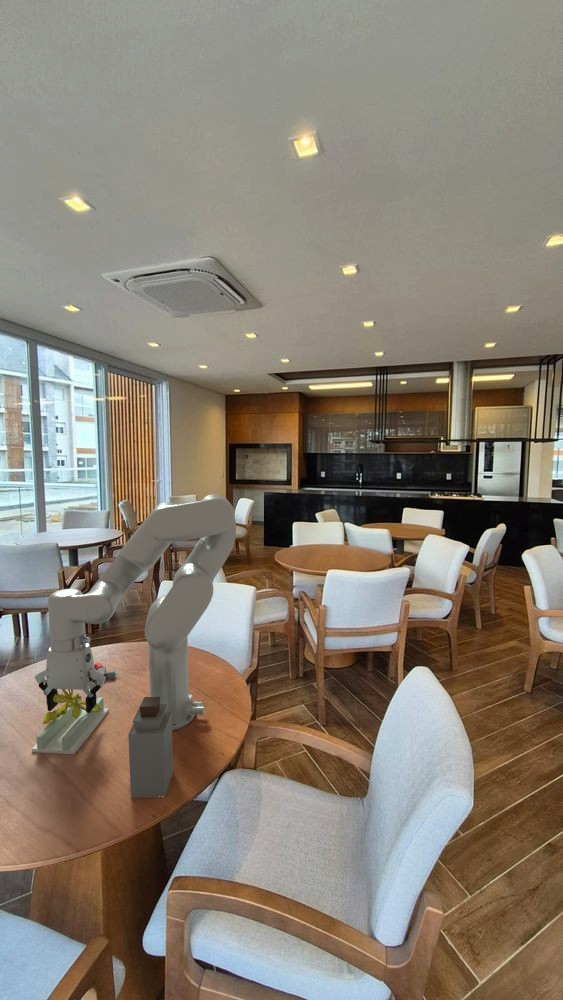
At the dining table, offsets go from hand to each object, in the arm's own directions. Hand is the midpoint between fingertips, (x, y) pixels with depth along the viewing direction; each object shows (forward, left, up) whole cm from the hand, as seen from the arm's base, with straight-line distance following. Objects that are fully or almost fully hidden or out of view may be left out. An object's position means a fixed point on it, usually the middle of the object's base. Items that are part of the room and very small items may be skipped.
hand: (72, 708), depth 102 cm
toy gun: (+7, -26, -6) cm, 27 cm away
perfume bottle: (-26, +15, -6) cm, 31 cm away
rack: (0, 0, -6) cm, 6 cm away
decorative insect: (0, 0, -3) cm, 3 cm away
